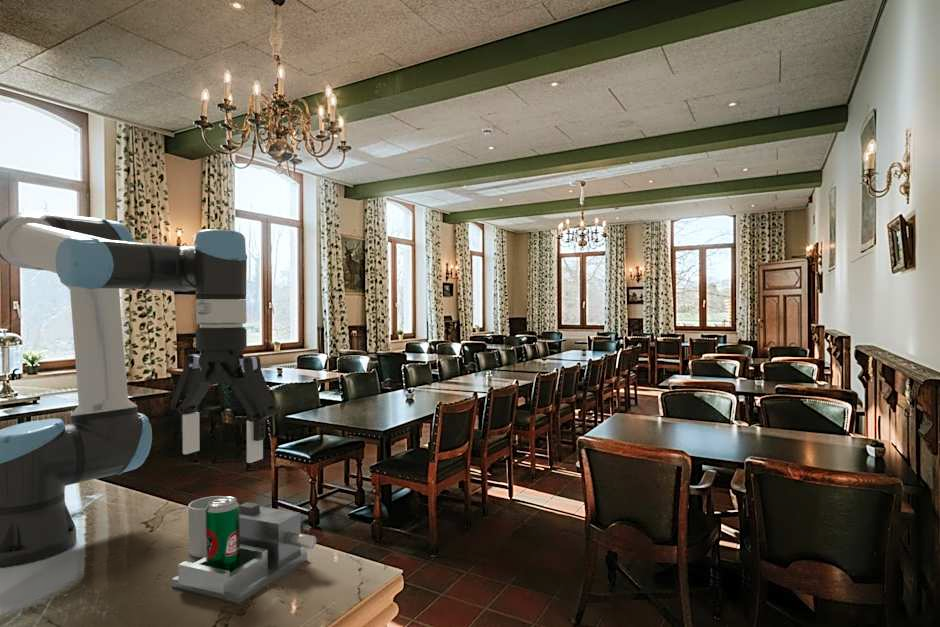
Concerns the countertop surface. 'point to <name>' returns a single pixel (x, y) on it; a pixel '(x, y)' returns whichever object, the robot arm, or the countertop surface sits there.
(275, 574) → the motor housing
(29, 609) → the countertop surface
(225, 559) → the soda can
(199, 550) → the cup
